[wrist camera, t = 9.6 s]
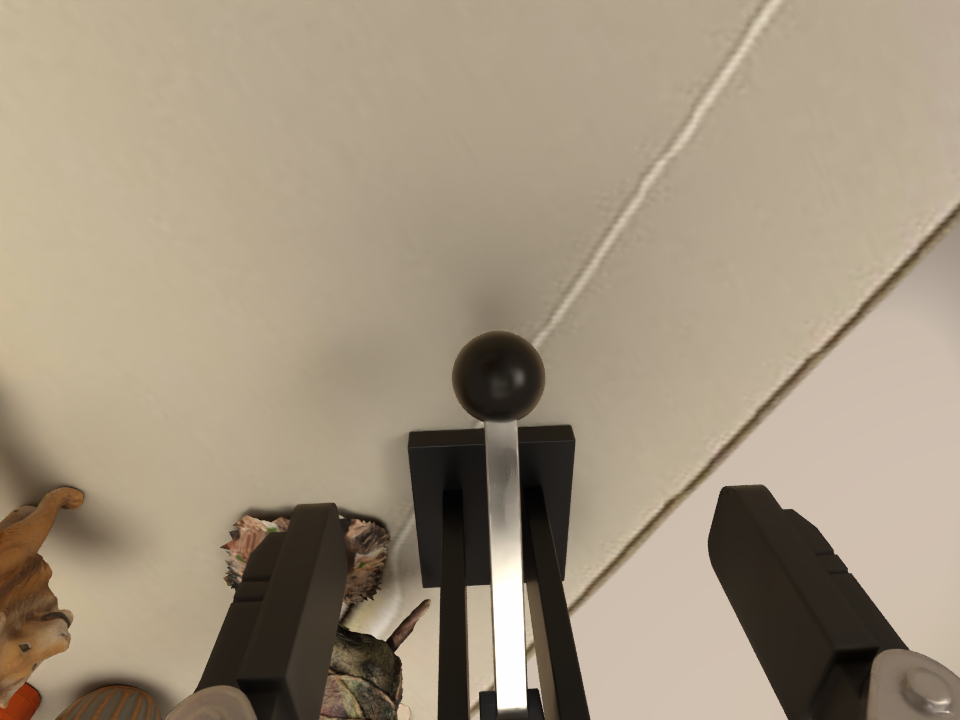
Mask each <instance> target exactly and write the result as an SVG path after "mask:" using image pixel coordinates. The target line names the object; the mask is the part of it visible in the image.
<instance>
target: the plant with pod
mask: <svg viewBox="0 0 960 720" xmlns="http://www.w3.org/2000/svg"><path fill="white" fill-rule="evenodd" d="M339 519H340V524H341V529H342V534H343V539H344V544H345V549H346V554H347V580H346V587H345V592H344V597H343V602H344V603H346V604H347V605H348V606H349V602H351V603H354V604H355V605H356V601H359V602H363V599H365V600H367V597H369V598H370V599H372V600H374V599H373V595H375V594H377V592H376V589H379V590H381V589H380V588H379V587H378V585H379V584H381V583H377V582H378V581H379V580H380V579H381V576H380V574H381V573H382V569H383V567H384V565H385V563H382V562H381V561H382V560H384V559H385V558H387V556H386V555H385V554H386V553H387V551H384V550H387V549H386V548H384V546H386V545H388V544H387V542H390V540H386V539H387V538H388V537H390V536H389V535H387V534H385V529H383V528H381V527H379V525H376V524H375V522H373V523H372V524H371V522H370V521H369V522H368V523H367V524H366V522H365V521H364V520H363V522H362V523H361V522H360V520H359V519H357V520H356V519H349V518H343V517H342V516H341V515H339ZM289 523H290V520H288V519H285V518H283V517H280V518H278V519H276V520H275V521H273V522H268V521H265V520H262V522H261V521H260V520H258V519H257V518H251V517H249V516H248V515H245V516H244V517H243V518H242V519H241V520H240V521H238V522H237V523H235V524H234V525H233V526H236V527H238V528H240V529H239V530H235V531H231V532H229V533H230V535H231V537H232V539H233V541H231V542H229V543H227V544H225V545H223V546H222V547H220V548H224V549H228V550H233V551H230V552H227V553H229V554H230V555H232V556H233V557H232V556H229V557H230V559H231V561H232V562H228V561H226V563H227V564H228V565H229V567H227V568H228V569H229V570H231V571H229V572H228V573H226V574H228V576H226V577H224V580H225V581H226V582H227V585H228V586H232V587H231V589H232V588H235V591H236V590H237V587H238V585H239V583H240V582H241V580H242V578H241V577H242V575H243V572H244V570H245V567H246V565H247V562H248V560H249V557H250V555H251V553H252V552H253V551H254V550H255V548H256V547H257V546H258V545H259V544H260V543H261V542H262V541H263V539H264V538H265V537H266V536H267V535H268V534H269V533H270V532H287V529H288V526H289ZM234 557H235V558H234ZM230 573H232V574H230ZM366 596H367V597H366ZM367 601H368V600H367ZM343 602H342V603H343ZM430 603H431V600H430V599H427V600H424V601H423V602H422V603H421V604H420V605H419V606H418V607H417V608H416V609H414V610H413V611H412V613H411V614H410V615H409V616H408V617H407V618H406V619H405V620H404V621H403V622H402V623H401V624H400V625H399V627H398V628H397V629H396V630H395V631H394V632H393V634H392V635H391V636H390V637H389V638H388V639H387V641H386V642H385V641H383V640H378V639H376V638H375V637H374V636H372V635H369V634H361V633H357V632H351V631H349V628H347V627H345V626H343V625H342V624H341V623H340V621H339V622H338V627H337V632H336V637H335V642H334V647H333V652H332V657H331V662H330V667H329V672H328V677H327V682H326V687H325V692H324V697H323V702H322V707H321V712H320V717H319V720H398V716H397V710H398V708H399V704H400V702H401V700H402V693H403V689H402V680H403V678H402V669H401V666H402V663H401V660H400V658H399V657H398V656H396V655H395V654H394V652H395V651H396V650H397V648H398V647H399V646H400V644H401V643H402V642H403V641H404V640H405V639H406V638H407V637H408V636H409V634H410V633H411V632H412V631H413V628H414V626H415V624H416V622H417V621H418V620H419V618H420V617H421V616H423V615H424V614H425V612H426V611H427V610H428V608H429V605H430ZM356 606H357V605H356Z"/></svg>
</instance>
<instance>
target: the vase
mask: <svg viewBox="0 0 960 720" xmlns="http://www.w3.org/2000/svg"><path fill="white" fill-rule="evenodd" d="M55 720H163V719H162V715H161V712H160V710H159V707H158V705H157V703H156V702H155V700H154V699H153V698H152V697H151V696H150V695H149V694H147V693H146V692H144V691H142V690H140V689H137V688H134V687H129V686H122V685H114V686H107V687H103V688H100V689H98V690H95V691H93V692H91V693H89V694H87V695H85V696H83V697H81V698H80V699H78V700H76V701H75V702H73V703H72V704H71V705H70V706H69V707H67V708H66V709H65V710H64V711H63V712H62V713H61V714H60V715H59V716H58V717H57V718H56V719H55Z"/></svg>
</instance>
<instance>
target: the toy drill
mask: <svg viewBox="0 0 960 720" xmlns="http://www.w3.org/2000/svg"><path fill="white" fill-rule="evenodd" d="M39 704H40V697H39V694H38V693H37V692H36V691H35V690H34V689H33V688H32V687H30V686H28V685H27V684H25V683H24V685H23V686H22V687H20V688H19V689H18V690H17V691H16V692H15V694H14V695H13V696H12V697H11V698H10V700H9V703H8V706H7V707H6V708H1V707H0V720H30V719H31V718H32V716H33V715H34V713H35V712H36V710H37V708H38V706H39Z"/></svg>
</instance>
